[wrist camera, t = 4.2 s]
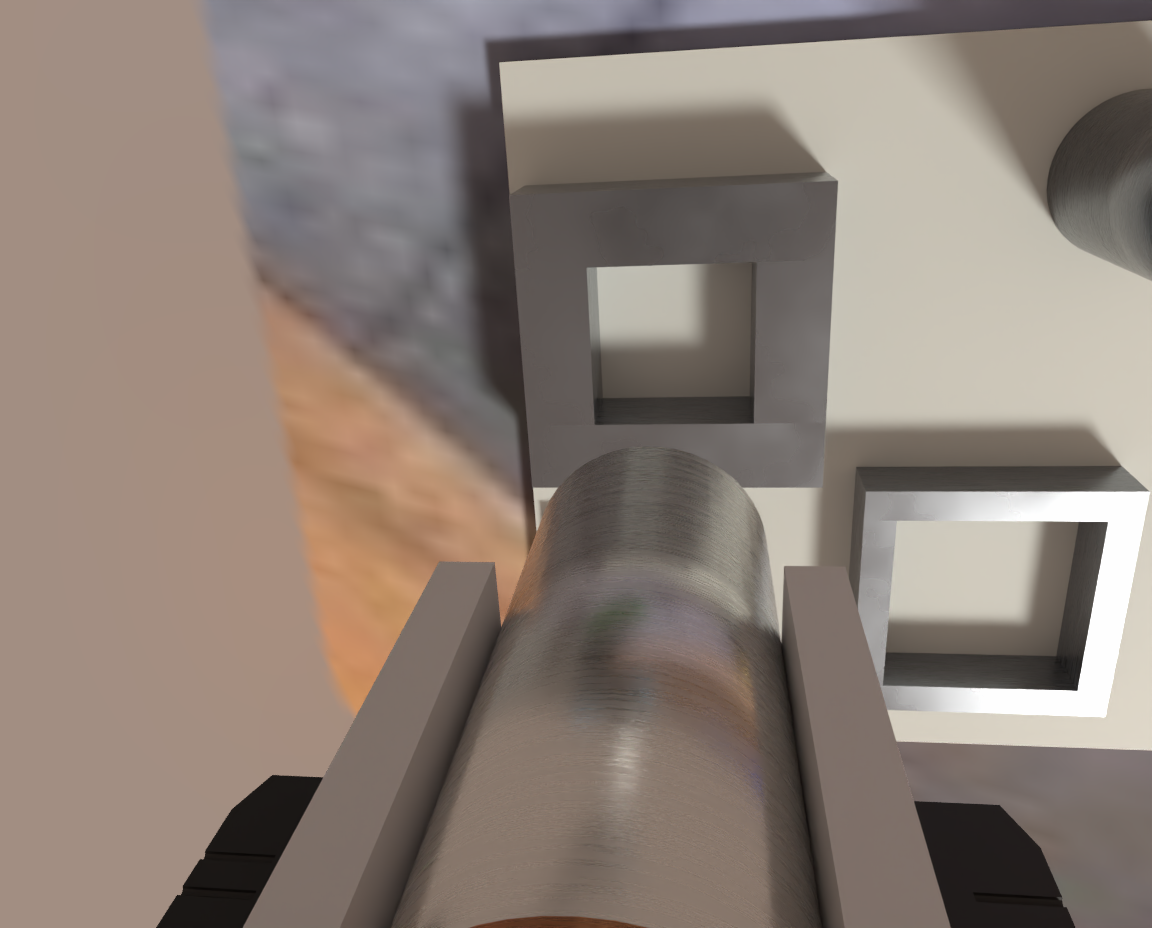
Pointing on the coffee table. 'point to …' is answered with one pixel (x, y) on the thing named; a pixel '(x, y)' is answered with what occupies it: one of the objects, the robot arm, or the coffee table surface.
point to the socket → (1004, 493)
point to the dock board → (895, 307)
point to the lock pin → (628, 724)
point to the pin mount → (677, 237)
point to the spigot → (1107, 182)
